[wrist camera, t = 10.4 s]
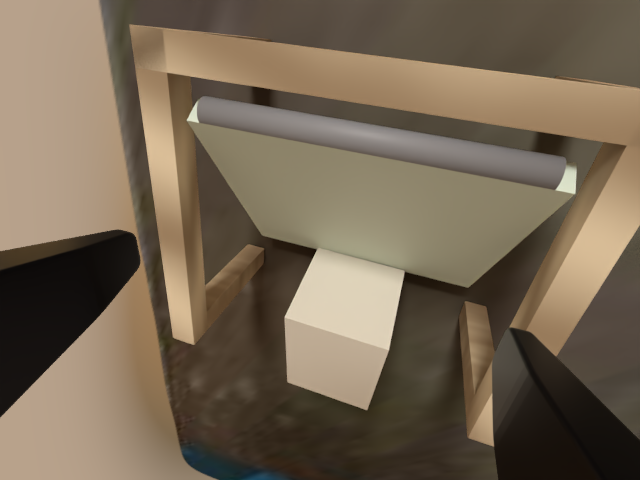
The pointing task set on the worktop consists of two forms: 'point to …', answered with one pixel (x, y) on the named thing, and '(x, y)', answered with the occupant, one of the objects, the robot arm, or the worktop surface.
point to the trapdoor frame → (404, 94)
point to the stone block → (341, 326)
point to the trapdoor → (381, 187)
